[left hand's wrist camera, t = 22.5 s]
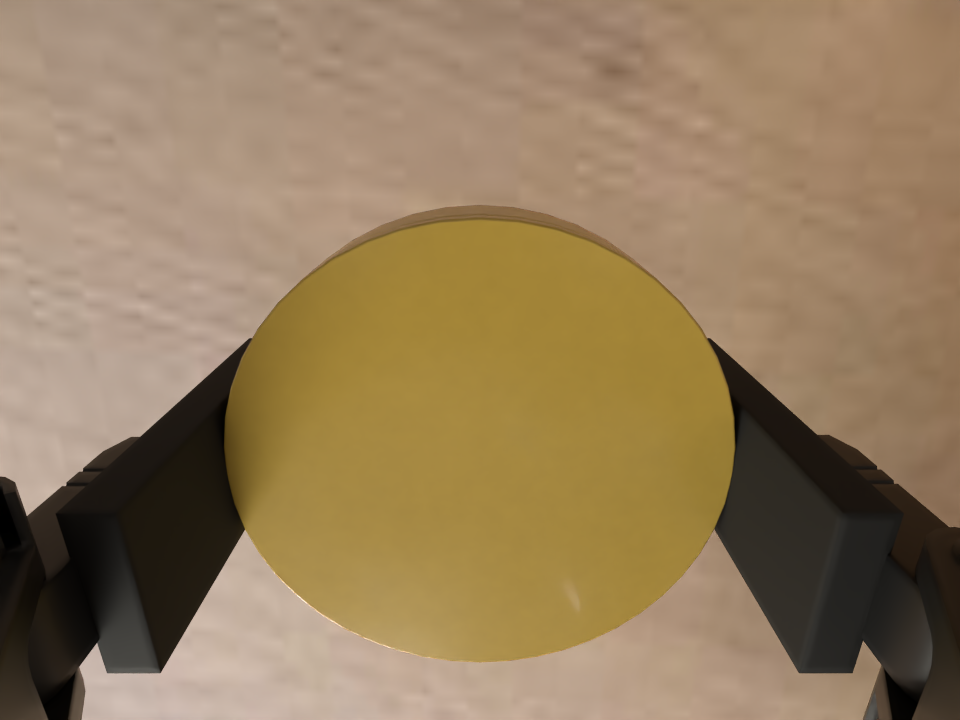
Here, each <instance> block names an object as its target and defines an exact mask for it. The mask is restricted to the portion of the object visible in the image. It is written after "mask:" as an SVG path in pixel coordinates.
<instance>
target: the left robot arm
mask: <svg viewBox="0 0 960 720" xmlns="http://www.w3.org/2000/svg"><path fill="white" fill-rule="evenodd" d="M707 339H708V341H709V343H710V345H711V346H712V348H713V350H714V352H715V354H716V355H717V357H718V360H719V363H720V365H721V368H722V371H723V374H724V376H725V379H726V382H727V384H728V388H729V393H730V398H731V403H732V408H733V413H734V422H735V456H734V465H733V471H732V477H731V482H730V486H729V490H728V494H727V498H726V502H725V505H724V507H723V509H722V512H721V514H720V517H719V519H718V521H717V524H716V526H715V528H714V529H715V531H716V533H717V534H718V536H719V538H720V539H721V541H722V543H723V544H724V546H725V548H726V550H727V551H728V553H729V555H730V556H731V558H732V560H733V562H734V563H735V565H736V567H737V568H738V570H739V572H740V573H741V575H742V577H743V579H744V580H745V582H746V584H747V585H748V587H749V589H750V590H751V592H752V594H753V596H754V597H755V599H756V601H757V602H758V604H759V606H760V607H761V609H762V611H763V613H764V614H765V616H766V618H767V619H768V621H769V623H770V624H771V626H772V628H773V630H774V631H775V633H776V635H777V636H778V638H779V640H780V641H781V643H782V645H783V647H784V648H785V650H786V652H787V653H788V655H789V657H790V658H791V660H792V662H793V664H794V665H795V667H796V669H797V670H798V672H799V673H853V670H854V667H855V664H856V660H857V657H858V654H859V651H860V648H861V645H862V642H863V641H864V642H865V643H866V645H867V646H868V647H869V649H870V650H871V651H872V653H873V654H874V655H875V657H876V658H877V659H878V661H879V662H880V663H881V665H882V666H881V668H880V671H879V674H878V677H877V680H876V683H875V686H874V689H873V692H872V694H871V697H870V700H869V703H868V706H867V709H866V712H865V715H864V718H863V720H877V719H879V720H960V528H957V527H948V526H947V525H946V524H945V523H944V522H942V521H941V520H940V519H939V518H938V517H936V516H935V515H934V514H933V513H932V512H930V511H929V510H928V509H927V508H926V507H925V506H923V505H922V504H921V503H920V502H919V501H917V500H916V499H915V498H914V497H913V496H912V495H910V494H909V493H908V492H907V491H906V490H904V489H903V488H902V487H901V486H900V485H899V484H894V480H893V479H891V478H890V477H889V476H888V475H887V474H886V473H884V472H883V471H882V470H877V466H876V465H875V464H874V463H873V462H871V461H870V460H869V459H868V458H867V457H865V456H864V455H863V454H862V453H861V452H860V451H858V450H857V449H855V448H853V447H851V446H849V445H847V444H845V443H844V442H842V441H840V440H838V439H836V438H834V437H832V436H830V435H817V434H815V433H814V432H813V431H812V430H811V429H810V428H809V427H808V426H807V425H806V424H804V423H803V422H802V421H801V420H800V419H799V418H798V417H797V416H796V415H794V414H793V413H792V412H791V411H790V410H789V409H788V408H787V407H786V406H784V405H783V404H782V403H781V402H780V401H779V400H778V399H777V398H776V397H775V396H773V395H772V394H771V393H770V392H769V391H768V390H767V389H766V388H765V387H763V386H762V385H761V384H760V383H759V382H758V381H757V380H756V379H755V378H753V377H752V376H751V375H750V374H749V373H748V372H747V371H746V370H745V369H744V368H742V367H741V366H740V365H739V364H738V363H737V362H736V361H735V360H734V359H732V358H731V357H730V356H729V355H728V354H727V353H726V352H725V351H724V350H722V349H721V348H720V347H719V346H718V345H717V344H716V343H715V342H714V341H713V340H711V339H710V338H707ZM251 340H252V338H249V339H248V340H247V341H246V342H245V343H244V344H243V345H242V346H240V347H239V348H238V349H237V350H236V351H235V352H234V353H233V354H232V355H230V356H229V357H228V358H227V359H226V360H225V361H224V362H223V363H222V364H221V365H219V366H218V367H217V368H216V369H215V370H214V371H213V372H212V373H211V374H209V375H208V376H207V377H206V378H205V379H204V380H203V381H202V382H201V383H199V384H198V385H197V386H196V387H195V388H194V389H193V390H192V391H191V392H189V393H188V394H187V395H186V396H185V397H184V398H183V399H182V400H181V401H180V402H178V403H177V404H176V405H175V406H174V407H173V408H172V409H171V410H170V411H168V412H167V413H166V414H165V415H164V416H163V417H162V418H161V419H160V420H158V421H157V422H156V423H155V424H154V425H153V426H152V427H151V428H150V429H149V430H147V431H146V432H145V433H144V434H143V435H142V436H141V437H130V438H128V439H126V440H124V441H123V442H121V443H119V444H117V445H115V446H113V447H111V448H109V449H107V450H105V451H103V452H102V453H101V454H100V455H98V456H97V457H96V458H95V459H94V460H92V461H91V462H90V463H89V464H88V465H87V466H85V467H84V468H83V472H78V473H77V474H76V475H75V476H74V477H73V478H71V479H70V480H69V481H68V482H67V485H66V486H62V487H61V488H60V489H58V490H57V491H56V492H55V493H54V494H53V495H51V496H50V497H49V498H48V499H47V500H46V501H44V502H43V503H42V504H41V505H40V506H38V507H37V508H36V509H35V510H34V511H33V512H31V513H30V514H29V515H28V516H26V513H25V510H24V507H23V504H22V501H21V498H20V495H19V492H18V490H17V487H16V484H15V482H13V481H11V480H10V479H8V478H6V477H0V720H81V719H82V712H83V705H84V697H85V687H84V681H83V677H82V674H81V671H80V668H79V666H80V665H81V663H82V662H83V661H84V659H85V658H86V657H87V655H88V654H89V653H90V651H91V650H92V649H93V647H94V646H95V645H96V643H98V647H99V650H100V653H101V656H102V659H103V662H104V665H105V668H106V671H107V673H161V671H162V670H163V668H164V666H165V665H166V663H167V661H168V659H169V658H170V656H171V654H172V653H173V651H174V649H175V648H176V646H177V644H178V642H179V641H180V639H181V637H182V636H183V634H184V632H185V631H186V629H187V627H188V625H189V624H190V622H191V620H192V619H193V617H194V615H195V614H196V612H197V610H198V608H199V607H200V605H201V603H202V602H203V600H204V598H205V597H206V595H207V593H208V591H209V590H210V588H211V586H212V585H213V583H214V581H215V580H216V578H217V576H218V574H219V573H220V571H221V569H222V568H223V566H224V564H225V563H226V561H227V559H228V557H229V556H230V554H231V552H232V551H233V549H234V547H235V546H236V544H237V542H238V540H239V539H240V537H241V535H242V534H243V532H244V530H245V528H244V525H243V523H242V520H241V518H240V516H239V513H238V511H237V509H236V506H235V504H234V500H233V497H232V493H231V489H230V485H229V480H228V475H227V469H226V462H225V453H224V431H225V415H226V410H227V405H228V400H229V395H230V390H231V386H232V383H233V380H234V377H235V375H236V372H237V369H238V367H239V364H240V361H241V358H242V356H243V354H244V353H245V351H246V349H247V347H248V345H249V344H250V342H251Z"/></svg>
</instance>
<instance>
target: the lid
mask: <svg viewBox="0 0 960 720" xmlns="http://www.w3.org/2000/svg"><path fill="white" fill-rule="evenodd" d="M224 453H225V462H226V469H227V475H228V480H229V485H230V489H231V493H232V497H233V500H234V504H235V506H236V509H237V511H238V513H239V516H240V518H241V520H242V523H243V525H244V528H245V530H246V532H247V533H248V535H249V537H250V538H251V540H252V542H253V543H254V545H255V547H256V548H257V550H258V552H259V553H260V555H261V556H262V557H263V559H264V560H265V561H266V563H267V564H268V565H269V566H270V568H271V569H272V570H273V571H274V573H275V574H276V575H277V576H278V577H279V578H280V579H281V580H282V581H283V582H284V583H285V584H286V585H287V586H288V587H289V588H290V589H291V590H292V591H293V592H294V593H295V594H296V595H297V596H298V597H299V598H300V599H302V600H303V601H304V602H305V603H307V604H308V605H309V606H311V607H312V608H313V609H314V610H316V611H317V612H318V613H320V614H321V615H323V616H324V617H326V618H328V619H329V620H331V621H332V622H334V623H336V624H337V625H339V626H341V627H342V628H344V629H346V630H348V631H350V632H352V633H354V634H356V635H359V636H361V637H363V638H365V639H367V640H369V641H372V642H375V643H377V644H380V645H383V646H386V647H389V648H391V649H394V650H397V651H402V652H406V653H410V654H414V655H418V656H422V657H428V658H434V659H441V660H448V661H462V662H497V661H511V660H518V659H525V658H532V657H538V656H542V655H546V654H550V653H554V652H558V651H562V650H565V649H568V648H571V647H573V646H576V645H579V644H582V643H585V642H587V641H590V640H592V639H594V638H597V637H599V636H601V635H603V634H605V633H607V632H609V631H611V630H613V629H615V628H617V627H619V626H620V625H622V624H624V623H625V622H627V621H628V620H630V619H632V618H633V617H635V616H636V615H638V614H640V613H641V612H642V611H644V610H645V609H646V608H647V607H649V606H650V605H651V604H653V603H654V602H655V601H656V600H658V599H659V598H660V597H661V596H663V595H664V594H665V593H666V592H667V591H668V590H669V589H670V588H671V587H672V586H673V585H674V584H675V583H676V582H677V581H678V580H679V579H680V578H681V577H682V576H683V574H684V573H685V572H686V571H687V569H688V568H689V567H690V565H691V564H692V563H693V562H694V560H695V559H696V558H697V556H698V555H699V554H700V552H701V551H702V549H703V547H704V546H705V544H706V542H707V540H708V539H709V537H710V535H711V534H712V532H713V530H714V528H715V526H716V524H717V521H718V519H719V517H720V514H721V512H722V509H723V507H724V505H725V502H726V498H727V494H728V490H729V486H730V482H731V477H732V471H733V465H734V456H735V422H734V413H733V408H732V403H731V398H730V393H729V388H728V384H727V382H726V379H725V376H724V374H723V371H722V368H721V365H720V363H719V360H718V357H717V355H716V354H715V352H714V350H713V348H712V346H711V345H710V343H709V341H708V339H707V337H706V336H705V334H704V332H703V330H702V329H701V327H700V326H699V325H698V323H697V322H696V321H695V320H694V318H693V317H692V316H691V314H690V313H689V312H688V310H687V309H686V308H685V307H684V305H683V304H682V303H681V302H680V301H679V300H678V299H677V298H676V297H675V296H674V295H673V294H672V293H671V292H670V291H669V290H668V289H667V288H666V287H665V286H664V285H662V284H661V283H660V282H659V281H658V280H657V279H656V278H655V277H654V276H653V275H651V274H650V273H649V272H648V271H647V270H645V269H644V268H643V267H642V266H641V265H640V264H638V263H637V262H636V261H635V260H634V259H632V258H631V257H630V256H628V255H627V254H625V253H624V252H623V251H621V250H620V249H618V248H617V247H616V246H614V245H613V244H611V243H610V242H608V241H607V240H605V239H604V238H602V237H600V236H598V235H596V234H594V233H592V232H590V231H588V230H586V229H584V228H582V227H580V226H578V225H576V224H573V223H570V222H567V221H565V220H562V219H559V218H556V217H553V216H550V215H548V214H544V213H539V212H534V211H529V210H524V209H519V208H514V207H501V206H486V205H473V206H458V207H445V208H440V209H435V210H431V211H426V212H421V213H416V214H412V215H409V216H406V217H403V218H401V219H398V220H395V221H392V222H389V223H386V224H384V225H381V226H379V227H377V228H375V229H373V230H371V231H369V232H368V233H366V234H364V235H362V236H360V237H358V238H356V239H354V240H352V241H351V242H350V243H348V244H347V245H345V246H344V247H343V248H341V249H340V250H338V251H337V252H335V253H334V254H333V255H331V256H330V257H328V258H327V259H326V260H325V261H324V262H322V263H321V264H320V265H319V266H318V267H316V268H315V269H314V270H313V271H312V272H310V273H309V274H308V275H307V276H306V277H304V278H303V279H302V280H301V281H300V282H299V283H298V284H297V285H296V286H295V287H294V288H293V289H292V290H291V291H290V292H289V293H288V294H287V295H285V296H284V297H283V298H282V299H281V300H280V301H279V302H278V303H277V305H276V306H275V307H274V309H273V310H272V311H271V312H270V314H269V315H268V316H267V318H266V319H265V320H264V321H263V323H262V324H261V325H260V327H259V328H258V329H257V331H256V333H255V335H254V336H253V338H252V340H251V342H250V344H249V345H248V347H247V349H246V351H245V353H244V354H243V356H242V358H241V361H240V364H239V367H238V369H237V372H236V375H235V377H234V380H233V383H232V386H231V390H230V395H229V400H228V405H227V410H226V415H225V431H224Z"/></svg>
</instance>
